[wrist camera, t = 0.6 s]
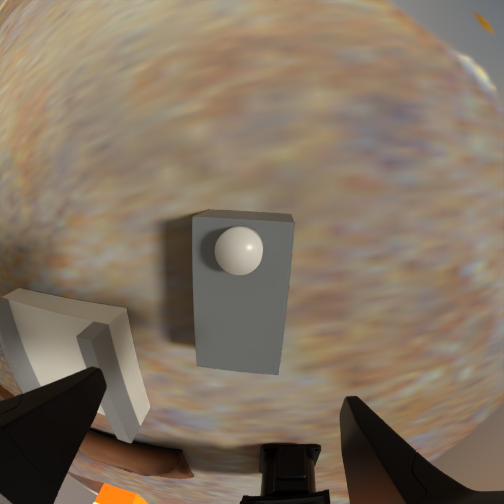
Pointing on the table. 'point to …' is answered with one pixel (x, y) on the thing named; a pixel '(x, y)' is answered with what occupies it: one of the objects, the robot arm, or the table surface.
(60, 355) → the stand
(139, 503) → the orange juice
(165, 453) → the sunglasses case
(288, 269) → the grey knobbed block
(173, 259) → the table surface
